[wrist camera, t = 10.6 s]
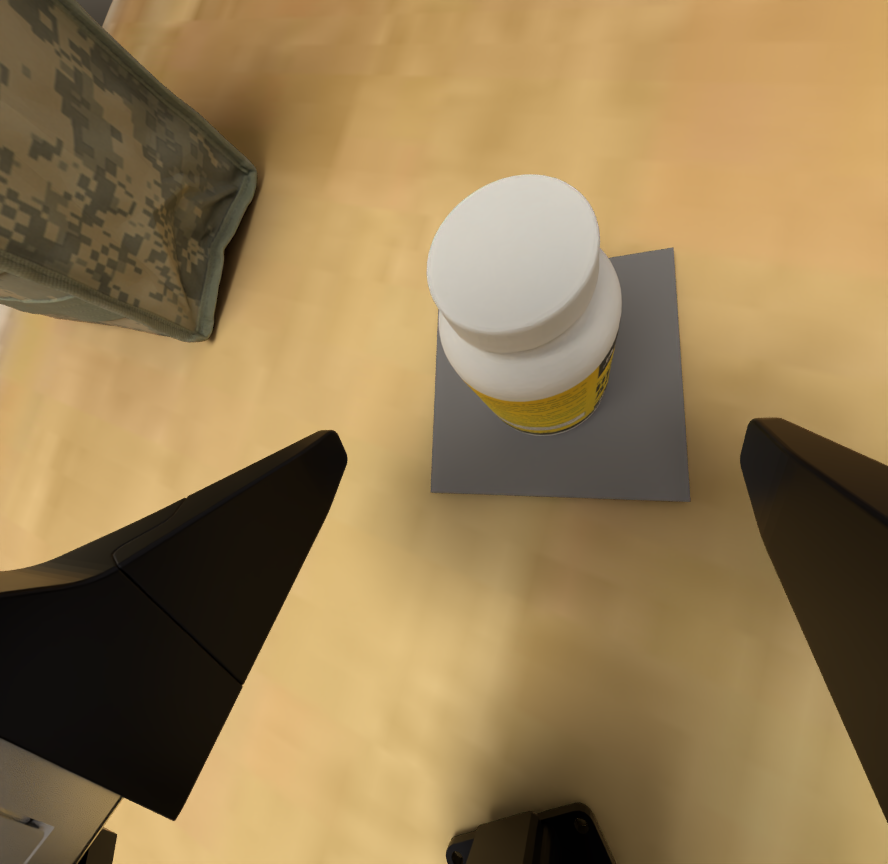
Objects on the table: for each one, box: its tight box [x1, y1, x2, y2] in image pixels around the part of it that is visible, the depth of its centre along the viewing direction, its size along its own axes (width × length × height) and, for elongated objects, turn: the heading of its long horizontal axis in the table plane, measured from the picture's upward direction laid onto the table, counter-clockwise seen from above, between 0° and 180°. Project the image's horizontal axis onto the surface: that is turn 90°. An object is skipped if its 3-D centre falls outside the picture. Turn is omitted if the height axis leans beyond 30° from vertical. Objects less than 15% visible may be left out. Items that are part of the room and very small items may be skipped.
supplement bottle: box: [427, 175, 622, 436], centre depth 13 cm, size 5×5×10 cm
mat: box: [431, 248, 690, 502], centre depth 18 cm, size 11×11×1 cm
